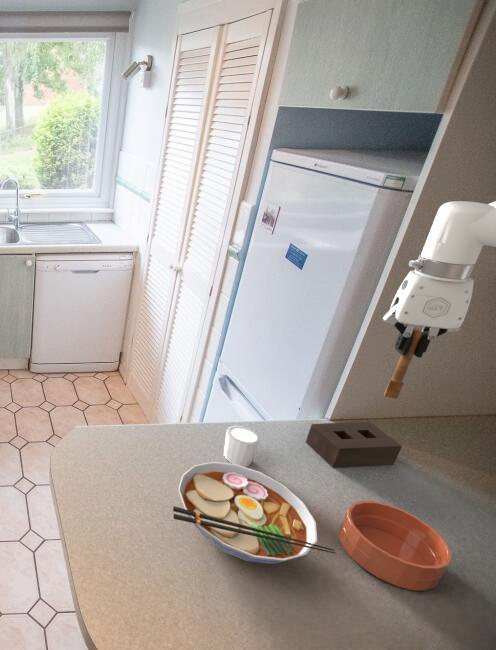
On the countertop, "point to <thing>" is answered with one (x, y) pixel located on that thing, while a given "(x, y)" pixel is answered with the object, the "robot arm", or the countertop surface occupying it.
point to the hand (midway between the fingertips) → (408, 352)
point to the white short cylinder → (240, 445)
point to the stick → (403, 367)
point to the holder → (352, 444)
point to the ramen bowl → (246, 513)
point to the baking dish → (394, 545)
